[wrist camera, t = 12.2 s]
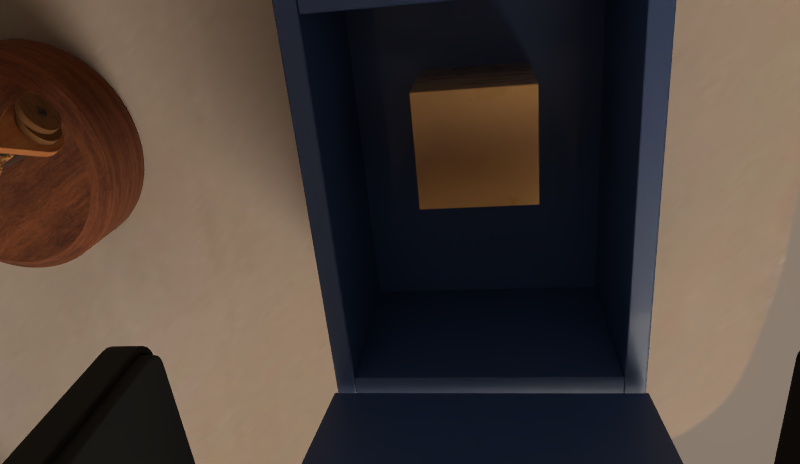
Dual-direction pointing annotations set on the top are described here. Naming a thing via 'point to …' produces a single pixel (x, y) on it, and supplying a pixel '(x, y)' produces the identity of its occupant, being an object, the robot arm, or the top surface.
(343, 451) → the lid
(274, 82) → the top surface
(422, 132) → the block
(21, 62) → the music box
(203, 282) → the top surface
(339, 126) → the case
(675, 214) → the top surface
